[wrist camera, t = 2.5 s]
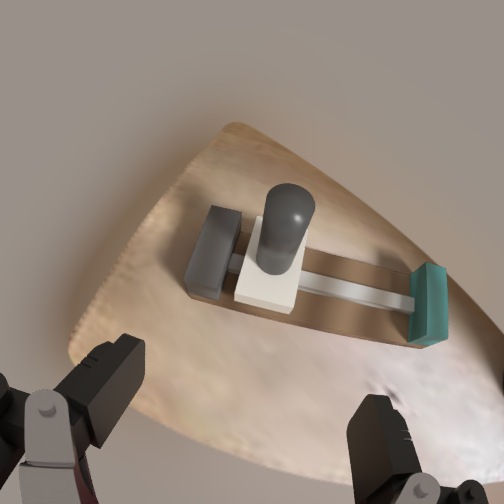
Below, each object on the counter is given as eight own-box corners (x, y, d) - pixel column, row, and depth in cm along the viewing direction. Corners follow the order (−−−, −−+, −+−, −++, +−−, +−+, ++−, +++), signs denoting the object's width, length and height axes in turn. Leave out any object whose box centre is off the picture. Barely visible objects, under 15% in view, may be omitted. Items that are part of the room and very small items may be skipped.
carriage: (303, 239, 29) (332, 170, 20) (289, 314, 25) (321, 266, 16) (255, 227, 29) (266, 153, 20) (234, 300, 25) (236, 244, 16)
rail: (422, 285, 30) (445, 268, 26) (421, 348, 27) (448, 338, 22) (214, 232, 32) (211, 205, 27) (190, 298, 28) (183, 279, 24)
